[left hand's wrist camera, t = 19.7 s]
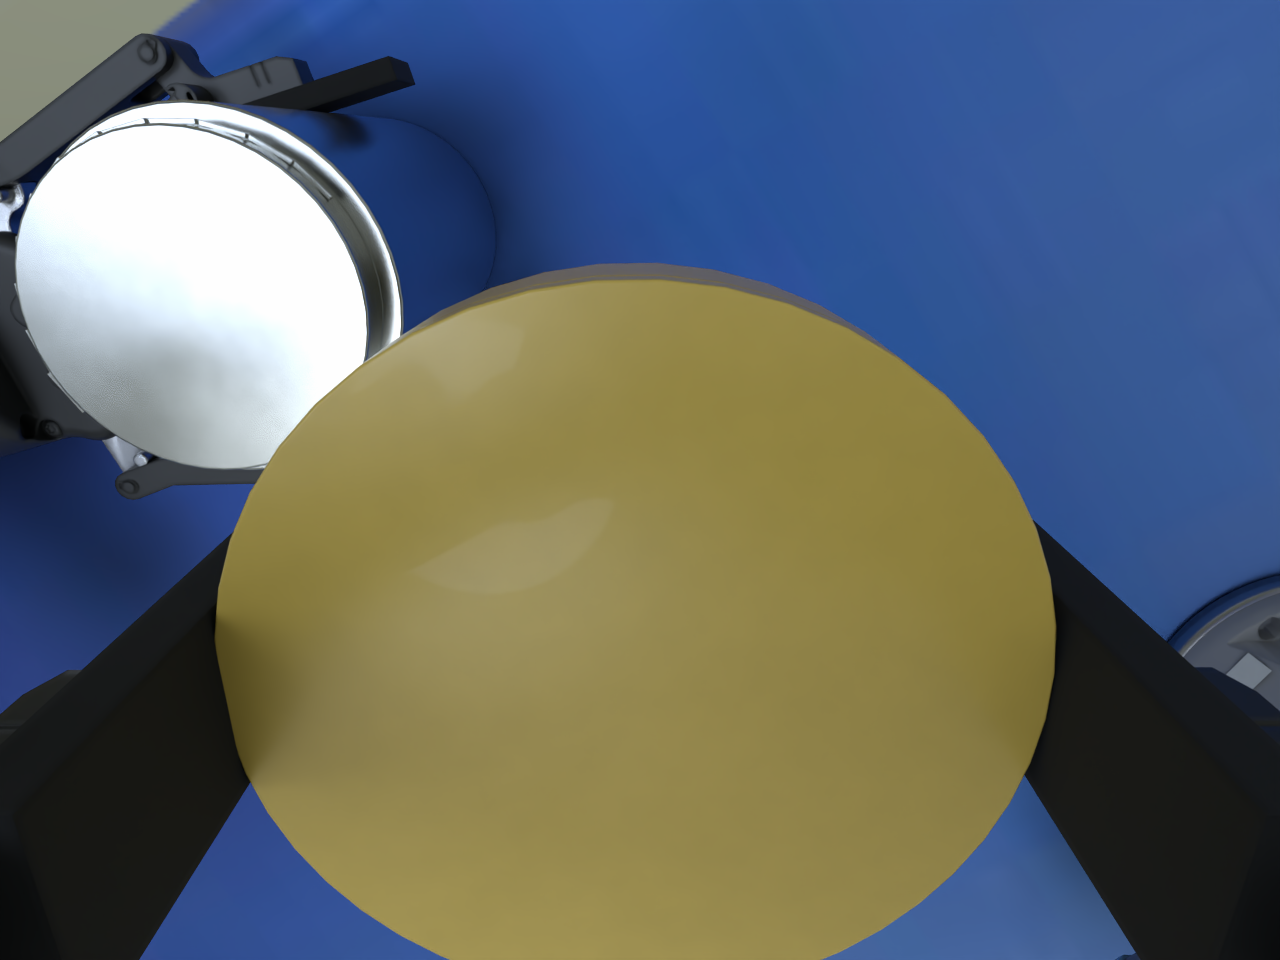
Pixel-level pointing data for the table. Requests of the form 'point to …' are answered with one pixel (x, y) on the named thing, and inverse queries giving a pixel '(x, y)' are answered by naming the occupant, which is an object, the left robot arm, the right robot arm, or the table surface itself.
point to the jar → (239, 266)
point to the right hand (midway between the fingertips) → (454, 216)
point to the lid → (635, 626)
